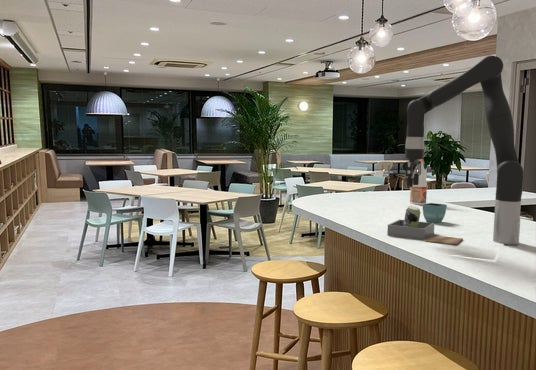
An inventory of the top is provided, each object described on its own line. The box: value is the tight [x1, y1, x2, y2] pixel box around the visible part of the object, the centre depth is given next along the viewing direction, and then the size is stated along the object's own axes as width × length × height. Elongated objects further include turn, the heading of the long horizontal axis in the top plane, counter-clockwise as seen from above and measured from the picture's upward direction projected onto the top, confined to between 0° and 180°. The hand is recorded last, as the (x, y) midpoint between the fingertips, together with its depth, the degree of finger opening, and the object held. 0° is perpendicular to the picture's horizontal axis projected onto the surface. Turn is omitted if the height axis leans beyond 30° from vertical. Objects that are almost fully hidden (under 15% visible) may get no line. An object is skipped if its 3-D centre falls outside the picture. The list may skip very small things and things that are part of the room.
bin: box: [386, 219, 435, 241], centre depth 206 cm, size 16×16×4 cm
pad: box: [424, 234, 464, 246], centre depth 194 cm, size 12×12×1 cm
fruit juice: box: [409, 159, 428, 206], centre depth 288 cm, size 9×9×28 cm
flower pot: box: [421, 202, 448, 224], centre depth 234 cm, size 9×9×9 cm
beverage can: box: [403, 205, 422, 228], centre depth 206 cm, size 6×7×12 cm
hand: (412, 185), depth 204 cm, fingers open, 8 cm apart
